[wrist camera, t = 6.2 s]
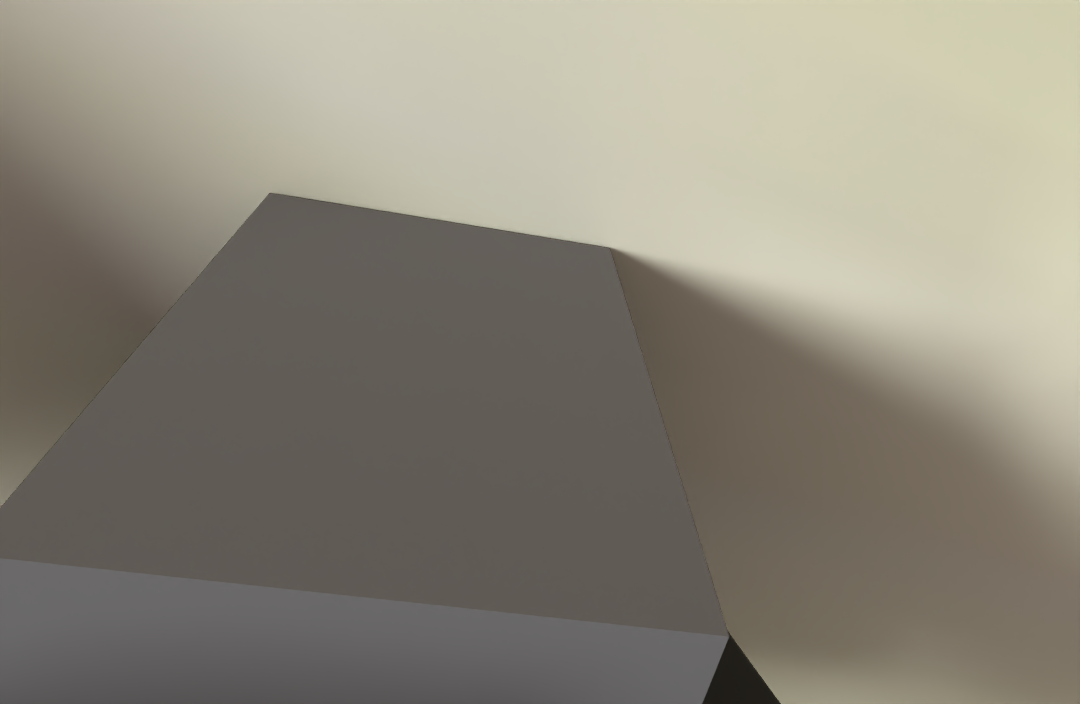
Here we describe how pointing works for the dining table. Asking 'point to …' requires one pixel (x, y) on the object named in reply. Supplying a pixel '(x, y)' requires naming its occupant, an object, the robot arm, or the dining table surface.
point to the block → (366, 488)
